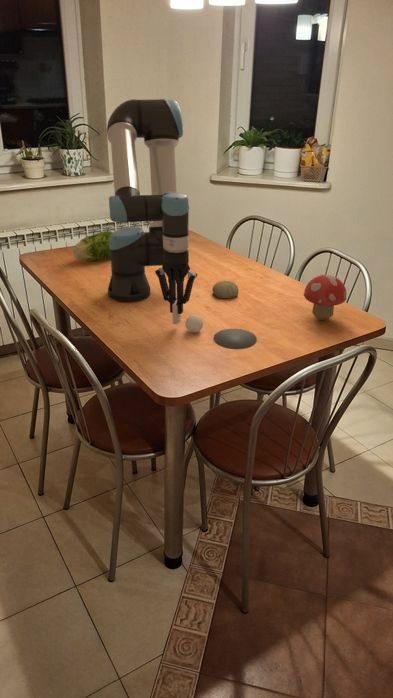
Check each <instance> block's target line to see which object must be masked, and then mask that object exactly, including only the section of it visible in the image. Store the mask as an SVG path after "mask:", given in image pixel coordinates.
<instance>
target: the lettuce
mask: <svg viewBox="0 0 393 698" xmlns="http://www.w3.org/2000/svg"><path fill="white" fill-rule="evenodd" d="M113 232H114V231H111V230H109V231H107V230H106V231H101V232H97V233H95V234H90V235H88V236H86V237H83V238H82V239H81V240H80V241H78V242H77V243H76V244H75V245H74V246H73V248H72V254H73V256H74V258H76V260H79V261H80V260H81V261H87V262H97V261H105V259H106V260H110V259H111V254H110V249H109V246H110V235H111V234H112V233H113ZM109 258H110V259H109Z"/></svg>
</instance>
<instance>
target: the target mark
mask: <svg viewBox="0 0 393 698" xmlns="http://www.w3.org/2000/svg"><path fill="white" fill-rule="evenodd" d="M257 340H258V338H257V335H256V334H255V333H253V332H251V331H249V330H246V329H242V328H227V329H225V328H224V329H222V330H219V331H217V332H216V333H214V335H213V341H214V342H215V343H216V344H217V345H219V346H221V347H223V348H227V349H232V350H234V349H235V350H239V349H247V348H250V347H252V346H254V345H255V344H256V343H257Z"/></svg>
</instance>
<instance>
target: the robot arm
mask: <svg viewBox="0 0 393 698" xmlns="http://www.w3.org/2000/svg"><path fill="white" fill-rule="evenodd" d="M183 126H184V124H183V117H182V111H181V108H180V105H179V103H178V102H177V101H176V100H174V99H165V98H161V99H160V98H159V99H158V98H157V99H128V100H126V101H123V102H122V103H120V104H119V105H118V106H117V107H116V108H115V109H114V110H113V112H112V114H111V115H110V117H109V118H108V122H107V127H106V136H107V137H106V138H107V139H108V142H109V143H110V148H111V163H112V172H113V173H112V177H113V186H114V187H113V188H114V195H111V196H109V197H108V204H109V205H108V206H109V207H108V208H109V219H110V220H111V221H112V222H114V223H133V222H134V223H135V222H151V223H150V224H149V226H148V232H147V231H146V232H145V231H144V229H143V228H142V227H138V226H137V227H136V226H129V227H124V228H119V229H117V230H115V231H112V232H113V233H112V234H111V235H110V246H109V249H110V254H111V258H110V267H111V275H110V280H109V284H108V286H107V293H108V294H107V295H108V297H109V299H111V300H113V301H116V302H120V303H121V302H123V303H134V302H139V301H143V300H146V299H147V298H149V297H150V296H151V286H150V283H149V280H148V278H147V276H146V272H145V271H146V269H145V268H146V267H159V268H157V269H156V270H155V271H154V272H155V275H156V277H157V278H158V281H159V285H160V291H161V293H162V297H163V301H164V302H168V303H169V312H170V313H171V314H172V324H173V325H178V324H179V323H180V322H181V320H182V319H181V315H182V313H183V312H184V304H185V305H186V304H187V303H188V302H189V301H190V298H191V293H192V290H193V285H194V281H195V279H196V278H197V277H198V273H196V272H193V271H192V270H191V267H190V265H189V261H190V259H189V256H190V255H189V252H190V251H189V246H190V245H189V243H190V242H189V241H190V240H189V220H190V219H189V216H190V215H189V212H190V211H189V210H190V205H189V196H188V195H186V194H184V193H182V192H181V193H180V192H177V177H176V175H177V174H176V172H177V171H176V155H175V151H176V150H175V149H176V147H177V146H178V144H179V143H180V142H179V141H180V139H181V138H182V137H183V135H184V128H183ZM137 138H138V139H143V143H144V145H145V146H146V147H147V148H148V151H149V152H148V155H149V169H150V170H149V171H150V174H149V175H150V187H151V189H150V192H151V194H146V195H145V194H143V195H142V194H140V193H141V192H140V183H139V181H140V180H139V173H138V163H137V153H136V141H137ZM186 276H187V281H186V285H185V286H184V284H185V283H184V282H185V277H186ZM184 287H185V289H184Z"/></svg>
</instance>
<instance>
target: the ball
mask: <svg viewBox="0 0 393 698" xmlns="http://www.w3.org/2000/svg"><path fill="white" fill-rule="evenodd" d="M184 324H185V328H186V329H187V331H189V332H190V333H198V332H200V331H201V330H202V329H203V326H204V320H203V318H202V316H199V314H190V315H189V316H187V318H186V319H185V322H184Z"/></svg>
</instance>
